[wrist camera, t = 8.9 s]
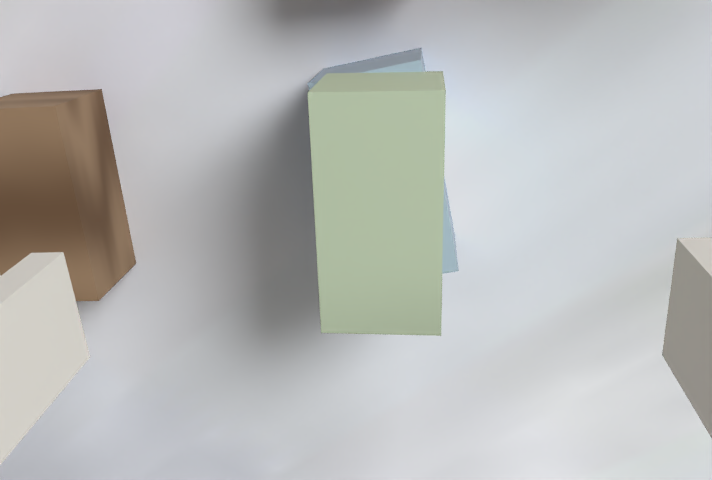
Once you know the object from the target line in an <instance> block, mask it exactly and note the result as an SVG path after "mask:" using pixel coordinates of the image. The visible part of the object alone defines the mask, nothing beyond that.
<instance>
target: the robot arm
mask: <svg viewBox="0 0 712 480" xmlns="http://www.w3.org/2000/svg"><path fill="white" fill-rule="evenodd" d="M662 356H663V357H664V359H665V361H666V362H667V364H668V366H669V367H670V369H671V371H672V372H673V374H674V376H675V377H676V379H677V381H678V382H679V384H680V386H681V387H682V389H683V391H684V392H685V394H686V396H687V398H688V399H689V401H690V403H691V404H692V406H693V408H694V409H695V411H696V413H697V414H698V416H699V418H700V419H701V421H702V423H703V424H704V426H705V428H706V429H707V431H708V433H709V434H710V436H711V438H712V237H711V238H677V245H676V252H675V260H674V268H673V275H672V283H671V291H670V298H669V306H668V314H667V321H666V329H665V337H664V345H663V352H662ZM89 358H90V354H89V351H88V347H87V343H86V339H85V335H84V331H83V327H82V323H81V319H80V315H79V311H78V307H77V303H76V300H75V296H74V292H73V288H72V284H71V280H70V276H69V272H68V268H67V264H66V260H65V256H64V253H63V252H47V253H30V254H29V255H28V256H26V257H25V258H24V259H22V260H21V261H20V262H19V263H17V264H16V265H15V266H13V267H12V268H11V269H9V270H8V271H7V272H5V273H4V274H3V275H1V276H0V465H1V464H2V463H3V461H4V460H5V459H6V458H7V457H8V455H9V454H10V453H11V452H12V451H13V449H14V448H15V447H16V446H17V445H18V443H19V442H20V441H21V440H22V439H23V437H24V436H25V435H26V434H27V433H28V431H29V430H30V429H31V428H32V427H33V425H34V424H35V423H36V422H37V421H38V419H39V418H40V417H41V416H42V415H43V413H44V412H45V411H46V410H47V409H48V407H49V406H50V405H51V404H52V403H53V401H54V400H55V399H56V398H57V397H58V395H59V394H60V393H61V392H62V391H63V389H64V388H65V387H66V386H67V385H68V383H69V382H70V381H71V380H72V379H73V377H74V376H75V375H76V374H77V372H78V371H79V370H80V369H81V368H82V366H83V365H84V364H85V363H86V362H87V360H88V359H89Z"/></svg>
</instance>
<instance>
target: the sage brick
mask: <svg viewBox="0 0 712 480" xmlns="http://www.w3.org/2000/svg"><path fill="white" fill-rule="evenodd" d="M445 94H446V90H445V83H444V77H443V71H433V72H380V73H326V74H325V75H324V76H323V77H322V78H321V79H320V80H319V81H318V82H317V83H316V84H315V85H314V86H313V87H312V88H311V89H310V90H309V91H308V110H309V127H310V145H311V163H312V180H313V198H314V216H315V233H316V251H317V269H318V286H319V304H320V321H321V333H348V334H393V335H437V336H441V310H442V256H443V202H444V148H445Z"/></svg>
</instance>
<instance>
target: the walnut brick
mask: <svg viewBox="0 0 712 480" xmlns="http://www.w3.org/2000/svg"><path fill="white" fill-rule="evenodd" d="M47 252H63V253H64V256H65V260H66V264H67V268H68V272H69V276H70V280H71V284H72V288H73V292H74V296H75V300H76V301H99V300H100V299H101V298H102V297H103V296H104V295H105V294H106V293H107V292H108V291H109V290H110V289H111V288H112V287H113V286H114V285H115V284H116V283H117V282H118V281H119V280H120V279H121V278H122V277H123V276H124V275H125V274H126V273H127V272H128V271H129V270H130V269H131V268H132V267H133V266H134V265H135V264H136V260H135V255H134V250H133V245H132V240H131V235H130V230H129V225H128V220H127V215H126V210H125V205H124V200H123V195H122V190H121V185H120V180H119V175H118V170H117V165H116V160H115V155H114V150H113V145H112V140H111V135H110V130H109V124H108V119H107V114H106V109H105V104H104V99H103V94H102V89H98V90H78V91H58V92H38V93H18V94H10V95H6V96H3V97H0V275H3V274H4V273H5V272H7V271H8V270H9V269H11V268H12V267H13V266H15V265H16V264H17V263H19V262H20V261H21V260H22V259H24V258H25V257H26V256H28V255H29V254H30V253H47Z"/></svg>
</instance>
